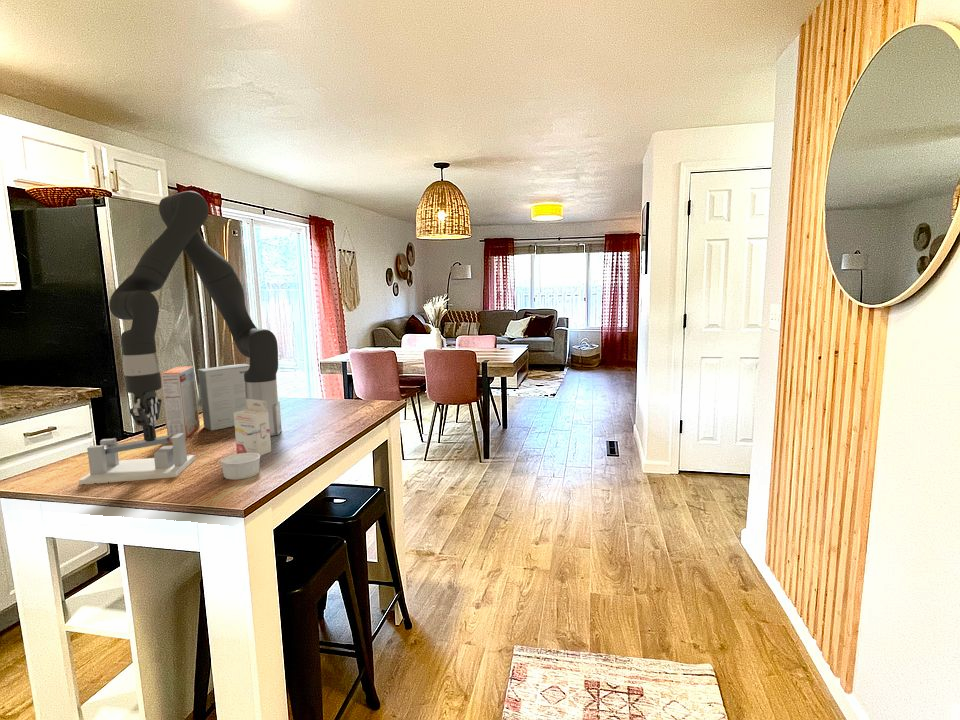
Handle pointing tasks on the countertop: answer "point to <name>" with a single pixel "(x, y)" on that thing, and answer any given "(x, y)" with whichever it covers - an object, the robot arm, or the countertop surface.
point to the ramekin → (240, 465)
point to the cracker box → (180, 401)
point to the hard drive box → (222, 394)
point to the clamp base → (137, 463)
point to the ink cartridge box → (253, 428)
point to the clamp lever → (136, 444)
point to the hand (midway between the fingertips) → (150, 439)
